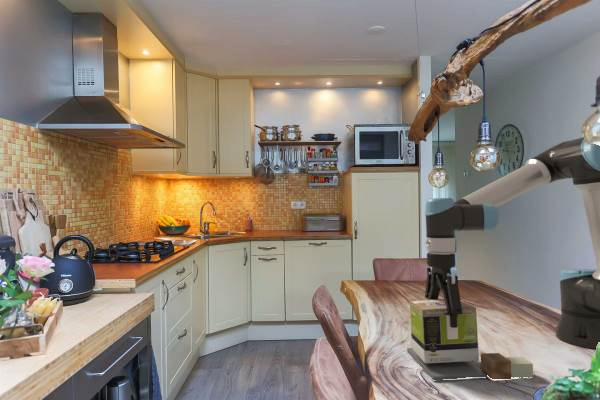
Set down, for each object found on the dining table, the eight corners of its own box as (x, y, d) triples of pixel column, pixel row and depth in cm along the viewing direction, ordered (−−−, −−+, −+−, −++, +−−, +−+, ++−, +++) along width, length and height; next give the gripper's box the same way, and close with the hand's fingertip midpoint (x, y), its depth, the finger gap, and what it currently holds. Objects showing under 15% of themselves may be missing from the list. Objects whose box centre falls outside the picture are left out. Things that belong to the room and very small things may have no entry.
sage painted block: (522, 372, 93) (522, 356, 93) (533, 379, 89) (532, 363, 89) (500, 372, 93) (500, 357, 93) (510, 380, 89) (509, 364, 89)
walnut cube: (499, 371, 93) (498, 352, 93) (511, 381, 88) (510, 361, 88) (481, 372, 93) (480, 353, 93) (492, 381, 88) (491, 361, 88)
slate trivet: (451, 350, 107) (451, 346, 107) (486, 378, 89) (486, 374, 89) (407, 351, 106) (407, 348, 106) (433, 381, 88) (433, 376, 88)
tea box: (460, 347, 103) (459, 297, 103) (479, 362, 93) (477, 307, 93) (410, 349, 102) (409, 298, 103) (424, 364, 92) (422, 308, 93)
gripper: (412, 248, 109) (414, 319, 109) (447, 258, 87) (449, 348, 86) (435, 247, 110) (437, 318, 109) (476, 257, 87) (478, 347, 87)
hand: (442, 331), depth 98 cm, fingers closed on tea box, 10 cm apart
